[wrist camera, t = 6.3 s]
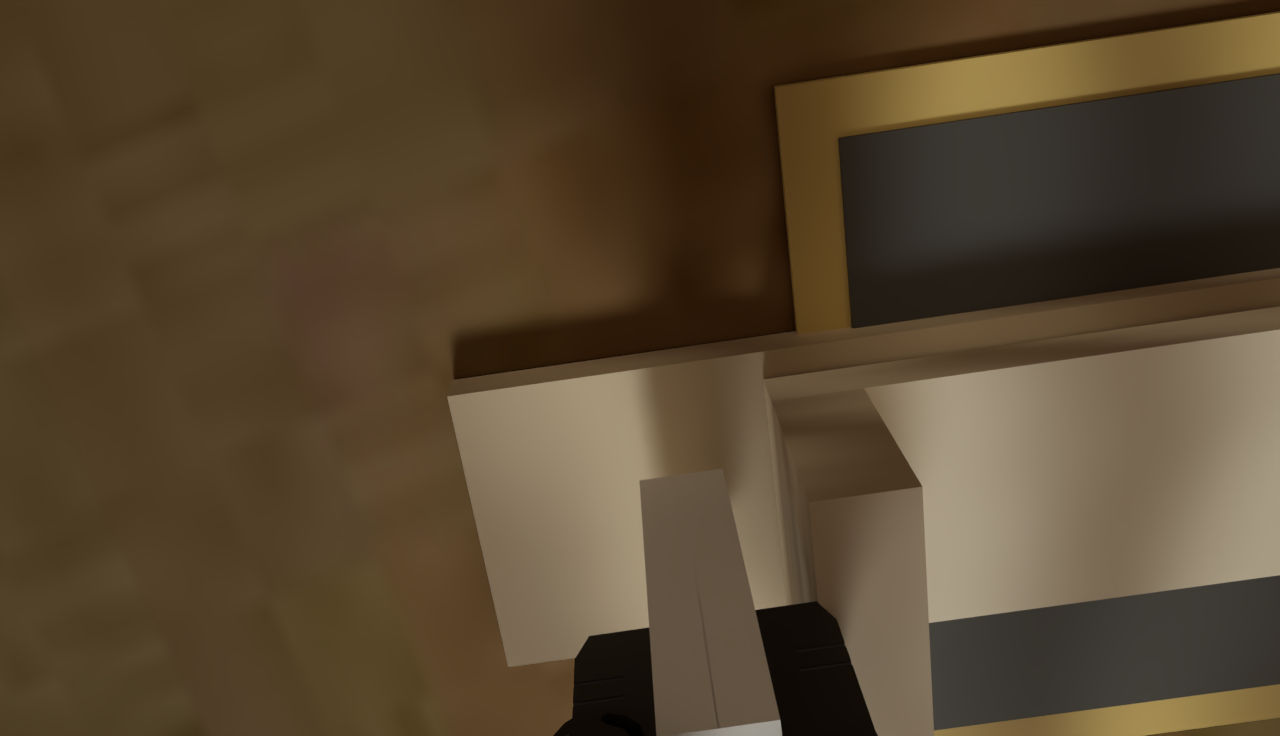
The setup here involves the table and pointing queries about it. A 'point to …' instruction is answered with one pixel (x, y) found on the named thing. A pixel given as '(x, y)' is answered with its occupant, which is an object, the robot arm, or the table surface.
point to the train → (1023, 484)
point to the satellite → (932, 325)
